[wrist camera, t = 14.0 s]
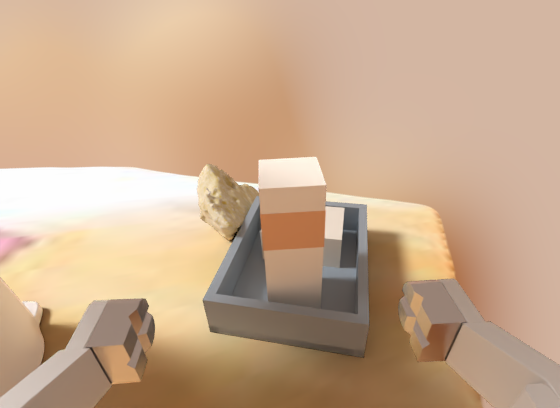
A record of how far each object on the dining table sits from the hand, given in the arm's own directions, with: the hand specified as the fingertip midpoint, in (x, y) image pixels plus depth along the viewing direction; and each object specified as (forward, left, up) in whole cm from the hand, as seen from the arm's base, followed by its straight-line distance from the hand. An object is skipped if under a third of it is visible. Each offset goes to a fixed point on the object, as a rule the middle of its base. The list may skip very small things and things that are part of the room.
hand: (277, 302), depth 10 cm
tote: (-3, +23, -22) cm, 32 cm away
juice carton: (-3, +18, -21) cm, 28 cm away
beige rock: (-14, +31, -22) cm, 40 cm away
